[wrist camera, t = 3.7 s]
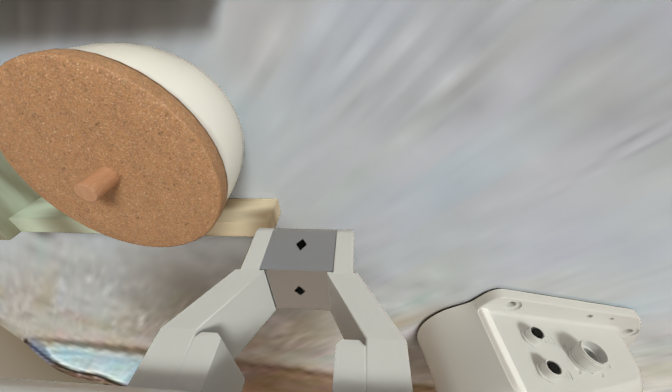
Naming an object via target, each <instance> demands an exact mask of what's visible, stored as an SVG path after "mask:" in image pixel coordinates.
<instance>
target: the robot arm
mask: <svg viewBox="0 0 672 392" xmlns="http://www.w3.org/2000/svg"><path fill="white" fill-rule="evenodd" d="M276 308H302V309H303V308H304V309H317V310H331V313H332V315H333V317H334V319H335V321H336V323H337V325H338V327H339V329H340V332H341V334H342V336H343V338H344V339H341V340H340V341H339V342H338V343H337V344H336V352H335V364H334V376H333V387H332V392H413V388H412V380H411V371H410V363H409V355H408V347H407V341H406V340H405V338H404V337H403V336H402V334H401V333H400V331H399V330H398V329H397V327H396V326H395V324H394V323H393V322H392V320H391V319H390V317H389V316H388V315H387V313H386V312H385V310H384V309H383V308H382V306H381V305H380V303H379V302H378V301H377V299H376V298H375V296H374V295H373V294H372V292H371V291H370V289H369V288H368V287H367V285H366V284H365V282H364V281H363V280H362V278H361V277H360V275H359V274H358V273H354V230H340V229H338V230H333V229H285V228H259V229H258V230H257V231H256V233H255V235H254V238H253V240H252V242H251V245H250V247H249V249H248V252H247V254H246V257H245V259H244V261H243V264H242V266H241V268H240V269H235V270H234V271H232V272H231V273H230V274H229V275H227V276H226V277H225V278H224V279H222V280H221V281H220V282H219V283H217V284H216V285H215V286H213V287H212V288H211V289H210V290H208V291H207V292H206V293H205V294H203V295H202V296H201V297H200V298H198V299H197V300H196V301H194V302H193V303H192V304H191V305H189V306H188V307H187V308H186V309H184V310H183V311H182V312H181V313H179V314H178V315H177V316H176V317H174V318H173V319H172V320H170V321H169V322H168V323H167V324H165V325H164V326H163V327H162V328H161V329H160V330H159V332H158V334H157V336H156V337H155V339H154V341H153V342H152V344H151V346H150V348H149V349H148V351H147V353H146V355H145V356H144V358H143V360H142V362H141V363H140V365H139V367H138V368H137V370H136V372H135V374H134V375H133V377H132V379H131V381H130V382H129V384H128V386H127V387H125V386H111V385H96V384H82V383H68V382H53V381H39V380H25V379H10V378H0V392H242V390H243V386H244V383H245V378H244V376H243V374H242V373H241V371H240V369H239V368H238V366H237V364H236V363H235V361H234V360H235V358H236V357H237V356H238V355H239V354H240V352H241V351H242V350H243V349H244V348H245V346H246V345H247V344H248V343H249V342H250V340H251V339H252V338H253V337H254V336H255V334H256V333H257V332H258V331H259V330H260V328H261V327H262V326H263V325H264V324H265V322H266V321H267V320H268V319H269V318H270V316H271V315H272V314H273V313H274V312H275V310H276ZM640 329H641V320H640V318H639V316H638V315H637V313H636V312H635V311H634V310H632V309H628V308H622V307H616V306H609V305H603V304H597V303H590V302H584V301H578V300H571V299H565V298H558V297H552V296H546V295H539V294H533V293H527V292H520V291H514V290H508V289H495V290H492V291H489V292H487V293H485V294H483V295H482V296H480V297H478V298H477V299H475V300H473V301H471V302H469V303H466V304H463V305H459V306H456V307H452V308H449V309H447V310H444V311H442V312H440V313H438V314H436V315H434V316H432V317H431V318H429V319H428V320H427V321H426V322H424V323H423V325H422V326H421V327H420V329H419V331H418V334H417V340H418V343H419V345H420V347H421V349H422V352H423V354H424V356H425V359H426V362H427V364H428V367H429V370H430V373H431V376H432V379H433V382H434V385H435V389H436V392H643V379H642V375H641V372H640V370H639V367H638V365H637V363H636V361H635V359H634V357H633V355H632V353H631V351H630V350H629V348H628V346H629V345H630V344H631V343H632V342H633V341H634V340H635V338H636V337H637V336H638V334H639V332H640Z"/></svg>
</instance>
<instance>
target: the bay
mask: <svg viewBox="0 0 672 392" xmlns="http://www.w3.org/2000/svg"><path fill="white" fill-rule="evenodd" d="M280 213H281V211H280V207H279V202H278V199H232V198H228V200H227V201H226V204H225V207H224V209H223V212H222V214H221V215H220V217H219V218H218V220H217V222H216V223H215V225H214V226H213V228H212V229H211V230H210V231H208V232H207V233H206V234H205V235H204V236H248V237H254V235H255V233H256V231H257V230H258V229H259V228H275V227H276V224H277V221H278V219H279V216H280ZM20 232H64V233H99V232H97V231H95V230H92V229H90V228H88V227H86V226H84V225H83V224H81V223H79V222H77V221H75V220H74V219H72V218H70V217H69V216H67V215H66V214H64V213H62V212H61V211H59V210H58V209H57V208H55V207H54V206H53V205H51V204H50V203H49V202H47V201H46V200H45V199H44V198H42V197H40V196H39V194H38V193H37V192H35V191H34V190H33V189H32V188H31V187H30V186H29V185H28V184H27V183H26V182H25V181H24V180H23V179H22V178H21V177H20V176H19V175H18V173H17V172H16V171H15V170H14V169H13V167H12V166H11V165H10V164H9V162H8V161H7V160H6V158H5V157H4V155H3V153H2V152H1V151H0V240H10V239H12V238H13V237H15V236H16V235H17V234H19V233H20Z"/></svg>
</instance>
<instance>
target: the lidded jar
mask: <svg viewBox="0 0 672 392" xmlns="http://www.w3.org/2000/svg"><path fill="white" fill-rule="evenodd" d="M0 150H1V152H2V153H3V155H4V157H5V158H6V160H7V161H8V162H9V164H10V165H11V166H12V167H13V169H14V170H15V171H16V172H17V173H18V175H19V176H20V177H21V178H22V179H23V180H24V181H25V182H26V183H27V184H28V185H29V186H30V187H31V188H32V189H33V190H34V191H35V192H37V193H38V194H39V195H40V196H41V197H42V198H44V199H45V200H46V201H47V202H49V203H50V204H51V205H53V206H54V207H55V208H57V209H58V210H59V211H61V212H62V213H64V214H66V215H67V216H69V217H70V218H72V219H74V220H75V221H77V222H79V223H81V224H83V225H84V226H86V227H88V228H90V229H92V230H95V231H97V232H99V233H102V234H104V235H107V236H109V237H112V238H115V239H117V240H121V241H125V242H129V243H132V244H138V245H143V246H152V247H172V246H178V245H183V244H186V243H189V242H192V241H195V240H197V239H199V238H200V237H202V236H204V235H205V234H206V233H207V232H208V231H210V230H211V229H212V228H213V226H214V225H215V223H216V222H217V220H218V218H219V217H220V215H221V214H222V212H223V209H224V207H225V204H226V201H227V200H228V198H229V197H230V195H231V193H232V191H233V189H234V187H235V184H236V182H237V179H238V176H239V174H240V171H241V166H242V161H243V155H244V141H243V133H242V128H241V124H240V121H239V118H238V116H237V113H236V111H235V109H234V107H233V106H232V104H231V102H230V100H229V99H228V98H227V96H226V95H225V93H224V92H223V91H222V89H221V88H220V87H219V86H218V85H217V84H216V83H215V82H214V81H213V80H212V79H211V78H210V77H209V76H208V75H207V74H205V73H204V72H203V71H202V70H200V69H199V68H198V67H196V66H195V65H193V64H192V63H190V62H188V61H186V60H185V59H183V58H181V57H179V56H177V55H174V54H171V53H168V52H166V51H163V50H160V49H157V48H154V47H149V46H144V45H139V44H129V43H97V44H90V45H84V46H78V47H72V48H67V49H49V50H44V51H38V52H33V53H27V54H23V55H20V56H17V57H15V58H13V59H11V60H9V61H7V62H5V63H4V64H3V65H2V66H0Z"/></svg>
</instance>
